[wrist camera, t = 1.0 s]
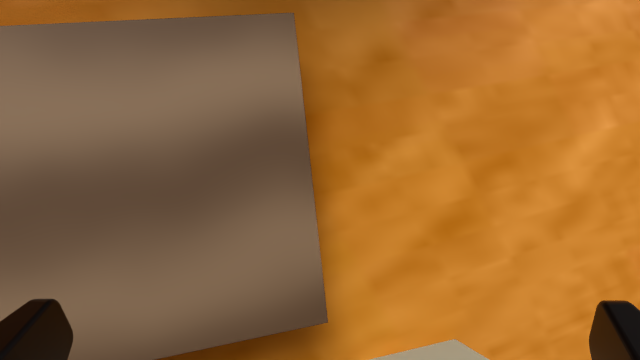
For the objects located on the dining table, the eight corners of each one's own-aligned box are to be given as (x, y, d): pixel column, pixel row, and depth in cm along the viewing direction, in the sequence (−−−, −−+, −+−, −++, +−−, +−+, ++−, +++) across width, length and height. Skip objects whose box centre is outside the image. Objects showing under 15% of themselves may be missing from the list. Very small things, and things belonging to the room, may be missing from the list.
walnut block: (300, 297, 26) (327, 322, 23) (12, 354, 23) (-13, 395, 19) (270, 33, 25) (293, 12, 22) (-37, 50, 22) (-74, 29, 18)
